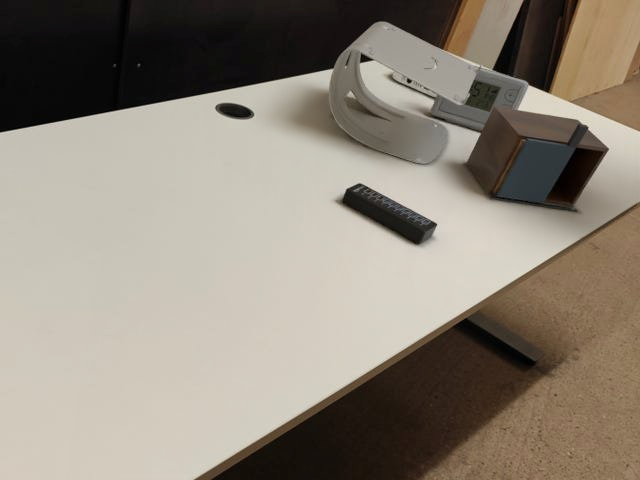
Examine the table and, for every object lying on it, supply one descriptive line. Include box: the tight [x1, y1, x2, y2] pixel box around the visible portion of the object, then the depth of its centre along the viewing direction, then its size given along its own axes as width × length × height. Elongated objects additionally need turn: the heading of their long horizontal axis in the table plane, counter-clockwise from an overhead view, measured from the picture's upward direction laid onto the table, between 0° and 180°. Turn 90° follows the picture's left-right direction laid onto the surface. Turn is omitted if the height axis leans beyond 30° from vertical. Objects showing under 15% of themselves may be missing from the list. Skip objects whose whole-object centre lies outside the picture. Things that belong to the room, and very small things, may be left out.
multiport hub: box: [341, 182, 438, 245], centre depth 105 cm, size 4×14×2 cm, turn 44°
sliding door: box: [496, 123, 590, 203], centre depth 112 cm, size 1×8×14 cm, turn 89°
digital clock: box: [430, 65, 529, 133], centre depth 139 cm, size 16×9×11 cm, turn 54°
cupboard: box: [466, 106, 610, 213], centre depth 119 cm, size 14×16×11 cm
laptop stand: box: [328, 21, 483, 165], centre depth 128 cm, size 26×24×16 cm
